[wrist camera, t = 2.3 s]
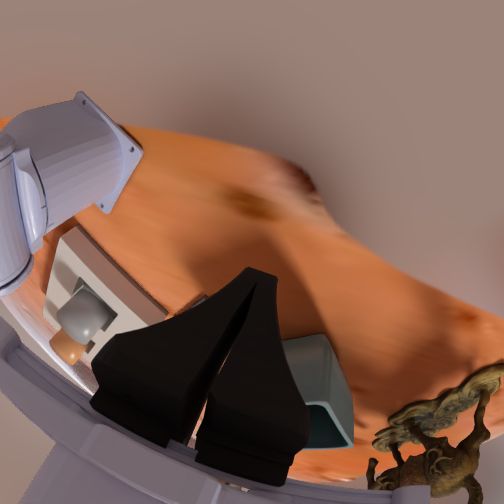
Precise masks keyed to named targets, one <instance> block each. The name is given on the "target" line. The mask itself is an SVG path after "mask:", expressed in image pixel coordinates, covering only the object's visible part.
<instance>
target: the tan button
mask: <svg viewBox="0 0 504 504" xmlns="http://www.w3.org/2000/svg"><path fill="white" fill-rule="evenodd" d="M49 343H50V346H51V347H52V349H53V350H54V352H55V353H56V354H57V355H58V356H59V357H60V358H61V359H62V360H63V361H64V362H66V363H67V364H69V365H71V366H73V365H74V364H75V363H76V361H77V360H78V359H79V358H80V356H81V355H82V354H83V353H84V352H85V350H86V349H87V348H88V347H89V343H87V344H86V345H82V344H80V343H78V342H76V341H75V340H74V339H72V338H71V337H70V336H69V335H68V334H67V333H66V332H65V331H64V329H63V328H61V329H60V330H59V331H58V332H57V333H56V334H55V335H54V336H53V338H52V339H51V340H50V341H49Z"/></svg>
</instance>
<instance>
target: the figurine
mask: <svg viewBox="0 0 504 504" xmlns="http://www.w3.org/2000/svg"><path fill="white" fill-rule="evenodd" d="M503 375H504V364H502V363H500V364H495V365H491V366H488V367H485V368H483V369H480V370H478V371H477V372H475V373H473V374H472V375H470V376H469V377H468V378H467V379H466V380H465V381H464V382H463V383H462V384H461V385H460V386H458V387H456V388H454V389H451V390H449V391H447V392H445V393H444V394H443V395H441V396H440V397H438V398H436V399H433V400H427V401H417V402H413V403H409V404H407V405H406V406H405V407H404V408H403V409H401V410H400V411H398V412H396V413H394V414H393V415H391V416H390V417H389V418H388V422H389V424H391V425H392V427H389V428H386V429H383V430H381V431H379V432H378V433H376V434H375V436H376V437H380V438H378V439H376V440H375V441H374V442H373V443H372V445H373V447H374V448H375V449H377V450H378V451H381V452H390V451H392V453H393V457H394V459H395V460H396V462H397V464H398V466H397V467H395V468H391V469H388V470H386V471H384V472H383V473H382V474H381V475H380V476H378V477H377V478H376V481H374V474H375V467H376V465H377V464H378V462H379V461H377V460H376V458H370V459H369V465H368V470H367V473H366V477H367V480H368V490H383V491H394V490H395V489H397V488H400V487H403V486H411V485H430V486H431V489H430V498H440V497H445V496H449V495H452V494H455V493H457V492H458V491H460V490H461V489H463V488H466V489H467V491H468V493H469V501H468V504H482V501H483V493H482V488H481V486H480V484H479V483H478V482H477V480H476V479H475V478H474V477H473V476H474V475H475V472H476V470H477V467H478V459H479V457H480V453H479V446H480V444H481V443H483V442H484V441H486V440H488V439H489V438H490V432H489V430H487V428H486V427H485V425H484V423H483V417H484V413H485V407H486V406H487V404H488V403H489V401H490V395H492V394H494V393H495V392H496V391H497V390H498V388H499V386H500V377H501V376H503ZM478 402H479V403H478ZM477 403H478V406H477V409H476V411H475V414H474V422H475V426H474V430H473V431H472V433H471V434H470V435H469V436H468V437H466V438H465V439H464V440H462V441H461V442H460V443H459V444H458V446H457V447H456V448H454V447H452V446H450V445H449V443H448V438H447V437H446V436H445V437H440V438H435V437H434V436H435V435H436V434H437V433H438V431H439V430H441V429H447V428H450V427H452V426H453V425H455V423H456V422H457V416H458V414H459V413H461V412H464V411H465V410H468V409H469V408H471V407H473V406H474V405H475V404H477ZM409 441H412V442H413V443H414V444H417V445H419V444H423V445H424V447H425V449H426V451H425V452H424V453H423V454H419V455H417V456H411V455H410V456H409V457H408V459H407V460H406V462H404V460H403V459H402V457H401V453H400V451H398V448H400V446H401V445H403V444H405V443H406V442H409Z"/></svg>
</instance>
